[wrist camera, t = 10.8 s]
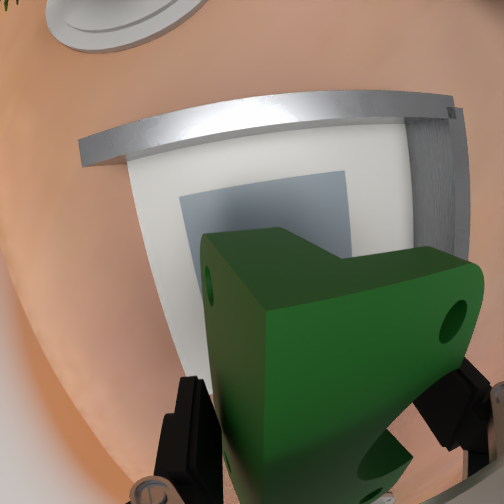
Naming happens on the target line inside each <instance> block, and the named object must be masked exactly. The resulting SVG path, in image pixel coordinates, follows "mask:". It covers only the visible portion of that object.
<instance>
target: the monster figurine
mask: <svg viewBox="0 0 504 504" xmlns="http://www.w3.org/2000/svg"><path fill="white" fill-rule="evenodd" d="M0 1H1V0H0ZM206 1H207V0H47V5H46V21H47V25H48V28H49V30H50V31H51V33H52V35H53V36H54V37H55V38H56V39H57V40H58V41H60V42H62V43H63V44H65V45H66V46H68V47H70V48H72V49H74V50H77V51H80V52H86V53H110V52H117V51H122V50H126V49H130V48H134V47H136V46H139V45H142V44H144V43H147V42H150V41H152V40H154V39H156V38H158V37H160V36H162V35H164V34H166V33H168V32H169V31H171V30H173V29H175V28H176V27H178V26H179V25H181V24H182V23H183V22H185V21H186V20H187V19H189V18H190V17H191V16H192V15H194V14H195V13H196V12H197V11H198V10H199V9H200V8H201V7H202V6H203V5H204V4H205V3H206ZM16 3H17V5H18V0H16ZM4 6H5V11H7V6H8V0H5V2H4Z"/></svg>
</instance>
